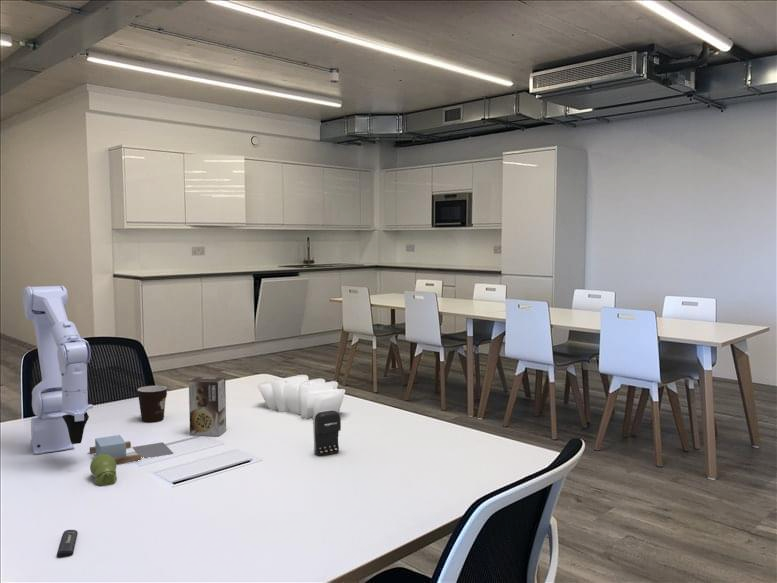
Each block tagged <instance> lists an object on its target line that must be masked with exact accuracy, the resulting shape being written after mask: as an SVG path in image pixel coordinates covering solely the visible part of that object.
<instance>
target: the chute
mask: <svg viewBox="0 0 777 583" xmlns="http://www.w3.org/2000/svg"><path fill="white" fill-rule="evenodd" d="M125 442H126V449H130V448H131V447H132V446H131V445H132V444H131V443H132V442H131V441H130V440H129V441H125ZM89 454H90V455H93V454H96V453H95V445H94V446H89ZM114 460H115V462H116V466H117V465H123V464H129V462H130V463H134V462H133V461H136V462H139V461H138V460H141V461H142V458H141V454H138V453H134V454H129V455H126V456H122V457H116V458H114Z"/></svg>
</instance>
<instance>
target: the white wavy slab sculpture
mask: <svg viewBox="0 0 777 583" xmlns="http://www.w3.org/2000/svg"><path fill="white" fill-rule="evenodd" d="M338 385H339V382H337V381H336V380H332V381H327V382H326V379H324V378H320V377H319V378H314V379H309V376H308V375H307V374H298V375H293V376H288V377H283V378H278V379H274V380H271V381H264V382H261V383H258V384H257V388H258V389H259V391H260V393H261V394H260V395H261V396H262V398H263V400H264V402H265V405H266V406H267V408H268V409H269V410H271V409H272V411H277V412H278V411H279V413H283V412H287V413H290V412H291V414H293V413H294V414H295V415H297V414H300V415H299V416H301V415H302V416H301V418H302V419H304V418H308V419H311V418H310V417H312V420H313V422H314V415H315V414H316V413H317V412H320V411H326V410H335V411H336V412H338V413H339V414H340V411H341V407H342V403H343V401H344V396H345V394H346V389H345V388H338Z"/></svg>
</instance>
